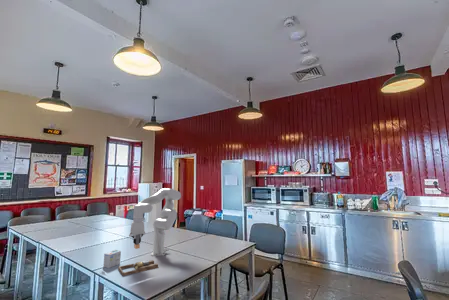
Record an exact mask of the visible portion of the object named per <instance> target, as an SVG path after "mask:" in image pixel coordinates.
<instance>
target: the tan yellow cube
mask: <svg viewBox="0 0 449 300" xmlns="http://www.w3.org/2000/svg"><path fill="white" fill-rule="evenodd" d="M134 264H135V267H134V270H137V268H138V267H142V266H143V263H142V261H138V262H135V263H134Z"/></svg>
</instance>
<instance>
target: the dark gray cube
mask: <svg viewBox="0 0 449 300" xmlns="http://www.w3.org/2000/svg"><path fill="white" fill-rule="evenodd" d="M149 261H150V260H142V261H141V262H142V263H143V266H147V265H149Z"/></svg>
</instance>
